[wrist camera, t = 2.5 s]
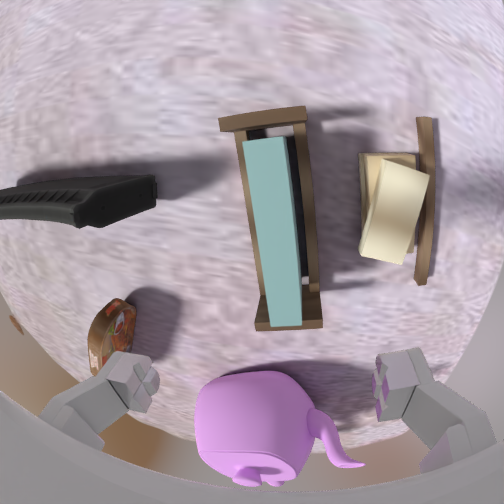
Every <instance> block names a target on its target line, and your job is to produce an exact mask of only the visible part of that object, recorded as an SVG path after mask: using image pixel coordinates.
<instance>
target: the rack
mask: <svg viewBox="0 0 504 504" xmlns="http://www.w3.org/2000/svg"><path fill="white" fill-rule="evenodd" d="M218 120H219V126H220V132H234V135H235V141H236V147H237V153H238V160H239V166H240V172H241V178H242V184H243V190H244V196H245V202H246V209H247V215H248V221H249V227H250V233H251V239H252V246H253V252H254V258H255V264H256V270H257V276H258V283H259V289H260V295H261V296H260V300H259V305H258V309H257V314H256V318H255V322H254V323H255V329H256V331H281V330H301V329H317V328H323V318H322V309H321V300H320V291H319V266H318V248H317V232H316V219H315V207H314V196H313V186H312V176H311V167H310V159H309V151H308V143H307V135H306V128H305V122H306V121H307V113H306V107H305V106H297V107H287V108H278V109H270V110H263V111H256V112H250V113H244V114H238V115H232V116H227V117H222V118H218ZM416 122H417V132H418V144H419V160H420V172H422V173H425V174H428V175H430V177H429V181H428V185H427V189H426V192H425V196H424V200H423V203H422V207H421V210H420V218H419V235H418V247H417V257H416V266H415V274H414V280H415V281H416V283H417V284H418V286H420V285H426V283H427V277H428V271H429V264H430V256H431V248H432V238H433V227H434V211H435V154H434V138H433V127H432V118H431V117H416ZM290 125H293V129H294V136H295V144H296V151H297V159H298V167H299V175H300V183H301V192H302V202H303V212H304V222H305V234H306V246H307V259H308V274H309V285H302V325H299V326H279V327H271V325H270V318H269V312H268V305H267V298H266V292H265V285H264V278H263V272H262V265H261V258H260V252H259V245H258V239H257V232H256V226H255V219H254V213H253V207H252V200H251V194H250V187H249V181H248V175H247V169H246V162H245V156H244V150H243V144H242V142H244V141H250V138H249V132H248V131H251V130H258V129H265V128H273V127H281V126H290Z"/></svg>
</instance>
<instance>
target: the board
mask: <svg viewBox="0 0 504 504" xmlns="http://www.w3.org/2000/svg"><path fill="white" fill-rule="evenodd" d="M242 144H243V150H244V156H245V162H246V169H247V175H248V181H249V187H250V194H251V200H252V207H253V213H254V219H255V226H256V232H257V239H258V245H259V252H260V258H261V265H262V272H263V278H264V285H265V292H266V298H267V305H268V312H269V318H270V325H271V327H279V326H299V325H302V278H301V265H300V253H299V242H298V231H297V221H296V212H295V203H294V194H293V185H292V177H291V169H290V162H289V154H288V147H287V140H286V137H284V136H281V137H273V138H265V139H258V140H251V141H244V142H242Z"/></svg>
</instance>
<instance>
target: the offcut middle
mask: <svg viewBox="0 0 504 504" xmlns="http://www.w3.org/2000/svg"><path fill="white" fill-rule="evenodd" d="M381 159H384V160H387V161H391V162H394V163H397V164H400V165H403V166H406V167H409V168H411V169H414V170H416V162H415V155H412V154H364V155H363V161H364V174H365V190H366V218H367V216H368V212H369V209H370V205H371V201H372V197H373V194H374V190H375V185H376V181H377V177H378V173H379V168H380V164H381ZM414 240H415V229H414V232H413V235H412V238H411V241H410V244H409V247H408V249H407V252H406V253H413V252H414Z"/></svg>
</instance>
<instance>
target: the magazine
mask: <svg viewBox="0 0 504 504" xmlns="http://www.w3.org/2000/svg"><path fill="white" fill-rule="evenodd" d="M156 198H157V183H155V176H154V175H147V176H104V177H84V178H71V179H61V180H53V181H45V182H39V183H33V184H27V185H22V186H17V187H11V188H7V189H2V190H0V220H2V219H29V220H43V221H53V222H60V223H65V224H69V225H73V226H74V227H76V228H79V229H80V228H82V227H85V226H87V225H89V226H93V227H97V228H103V227H105V226H108V225H110V224H113V223H115V222H117V221H120V220H122V219H125V218H128V217H130V216H133V215H135V214H138V213H141V212H143V211H146V210H149V209H151V208H154V207H155V206H156Z"/></svg>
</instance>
